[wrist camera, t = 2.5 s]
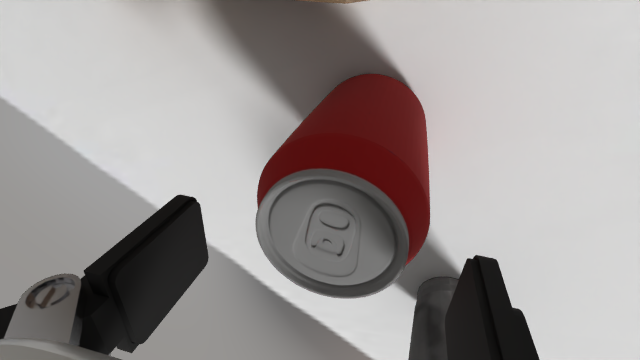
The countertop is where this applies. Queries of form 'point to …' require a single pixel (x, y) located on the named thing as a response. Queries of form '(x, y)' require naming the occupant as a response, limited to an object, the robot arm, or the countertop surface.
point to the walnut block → (335, 1)
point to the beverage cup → (431, 319)
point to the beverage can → (349, 191)
